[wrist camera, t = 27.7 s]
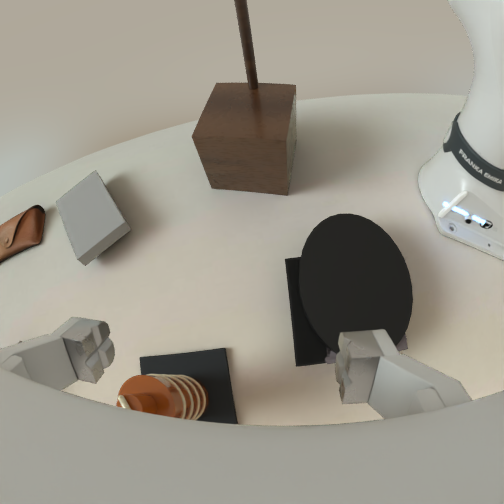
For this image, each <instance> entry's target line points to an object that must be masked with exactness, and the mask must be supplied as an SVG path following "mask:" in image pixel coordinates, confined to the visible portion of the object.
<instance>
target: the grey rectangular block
mask: <svg viewBox="0 0 504 504" xmlns="http://www.w3.org/2000/svg"><path fill="white" fill-rule="evenodd" d="M56 204H57V207H58V210H59V213H60V216H61V219H62V221H63V224H64V227H65V230H66V232H67V235H68V237H69V240H70V243H71V245H72V248H73V250H74V253H75V255H76V257H77V260H79V261H80V262H81V263H82V264H84V265H85V266H86V265H87V264H88V263H90V262H91V261H92V260H93V259H95V258H96V257H97V256H98V255H99V254H101V253H102V252H103V251H104V250H106V249H107V248H108V247H110V246H111V245H112V244H113V243H115V242H116V241H117V240H119V239H120V238H121V237H122V236H124V235H125V234H126V233H128V232H129V231H130V230H131V228H130V227H129V225H128V223H127V222H126V220H125V218H124V217H123V215H122V213H121V212H120V210H119V208H118V207H117V205H116V203H115V202H114V200H113V198H112V196H111V195H110V193H109V191H108V189H107V188H106V186H105V184H104V182H103V181H102V179H101V177H100V176H99V174H98V173H97V172H96V170H95V171H94V172H92V173H91V174H90V175H88V176H87V177H86V178H85V179H83V180H82V181H81V182H79V183H78V184H77V185H76V186H74V187H73V188H72V189H71V190H69V191H68V192H67V193H66V194H64V195H63V196H62V197H61V198H60V199H58V200H57V201H56Z"/></svg>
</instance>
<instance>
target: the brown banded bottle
mask: <svg viewBox="0 0 504 504" xmlns="http://www.w3.org/2000/svg"><path fill="white" fill-rule="evenodd" d="M116 406H117V407H121V408H126V409H130V410H135V411H140V412H145V413H150V414H155V415H161V416H167V417H174V418H180V419H188V420H197V419H198V418H199V417H200V416H202V415H203V414H204V412H205V411H206V409H207V406H208V394H207V391H206V389H205V387H204V386H203V384H202V383H201V382H199V381H198V380H197V379H195V378H193V377H189V376H186V375H167V374H147V375H137V376H134V377H131V378H129V379H128V380H127V381H126V382H125V383H124V384H123V385H122V387H121V388H120V391H119V394H118V399H117V403H116Z"/></svg>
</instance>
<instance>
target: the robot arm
mask: <svg viewBox="0 0 504 504" xmlns="http://www.w3.org/2000/svg"><path fill="white" fill-rule="evenodd" d="M448 2H449V5H450V6H451V8H452V10H453V11H454V13H455V14H456V16H457V17H458V18H459V20H460V21H461V23H462V25H463V27H464V28H465V30H466V32H467V35H468V38H469V40H470V43H471V47H472V51H473V57H474V76H473V81H472V84H471V88H470V91H469V94H468V97H467V99H466V102H465V104H464V107H463V109H462V111H461V112H459V113H458V114H457V115H456V117H455V119H454V121H452V123H451V125H450V127H449V129H448V131H447V133H446V135H445V138H444V142H443V145H442V146H441V148H440V149H439V150H438V152H437V153H436V154H435V155H434V156H433V157H432V158H431V159H430V160H429V161H428V162H426V163H425V164H424V165H423V166H422V167H421V169H420V172H419V176H418V183H419V189H420V192H421V195H422V197H423V199H424V201H425V203H426V204H427V206H428V207H429V209H430V210H431V212H432V213H433V215H434V218H435V221H436V225H437V228H438V230H439V232H440V233H441V234H442V235H444V236H447V237H449V238H452V239H454V240H457V241H459V242H462V243H464V244H467V245H469V246H471V247H474V248H476V249H478V250H481V251H483V252H485V253H488V254H490V255H492V256H494V257H497V258H499V259H501V260H504V0H448ZM450 229H452V231H451V230H450ZM109 334H110V330H109V326H108V324H107V323H106V322H105V321H98V320H92V319H86V318H80V317H71V318H70V319H69V320H68V321H66V322H65V323H64V324H63V325H61V326H60V327H59V328H58V329H57V330H55V331H54V332H53V333H52V334H50V335H49V334H47V335H43V336H40V337H37V338H34V339H31V340H28V341H24V342H21V343H18V344H15V345H12V346H8V347H5V348H2V349H0V504H504V390H503V391H501V392H498V393H495V394H492V395H489V396H486V397H482V398H479V399H476V400H472V399H471V398H470V396H469V395H468V393H467V392H466V390H465V389H464V387H463V386H462V384H461V383H460V382H459V381H458V380H456V379H453V378H451V377H449V376H447V375H445V374H443V373H441V372H439V371H437V370H435V369H433V368H431V367H429V366H427V365H425V364H423V363H421V362H419V361H417V360H415V359H413V358H411V357H409V356H407V355H405V354H402V355H400V353H399V352H398V350H397V348H396V347H395V345H394V343H393V342H392V340H391V338H390V337H389V335H388V334H387V332H386V330H384V329H378V330H367V331H353V332H341V333H340V336H339V341H338V345H339V348H340V352H339V353H338V354H337V355H336V363H335V373H336V379H337V382H338V383H340V388H339V392H340V397H341V401H342V404H353V403H368V404H369V405H370V406H371V407H372V408H373V409H374V410H376V411H377V412H378V413H379V414H380V415H381V416H382V417H383V418H385V419H382V420H374V421H365V422H356V423H344V424H331V425H310V426H260V425H239V424H225V423H214V422H204V421H196V420H188V419H180V418H174V417H167V416H161V415H155V414H150V413H145V412H140V411H135V410H130V409H126V408H121V407H117V406H113V405H109V404H105V403H101V402H97V401H93V400H90V399H86V398H83V397H79V396H76V395H73V394H70V393H67V392H63V391H61V390H62V389H64V388H66V387H68V386H69V385H71V384H73V383H75V382H76V381H78V380H82V381H86V382H91V383H95V384H96V383H97V382H98V380H99V379H100V378H101V376H102V375H103V374H104V370H103V369H105V368H107V367H109V366H110V365H111V363H112V362H113V359H114V356H115V350H114V345H113V342H112V341H111V340H110V339H109Z"/></svg>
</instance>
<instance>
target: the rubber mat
mask: <svg viewBox="0 0 504 504" xmlns="http://www.w3.org/2000/svg"><path fill="white" fill-rule="evenodd" d="M140 366H141V375H147V374H167V375H186V376H189V377H193V378H195V379H197V380H198V381H199V382H201V383H202V384H203V386H204V387H205V389H206V391H207V394H208V406H207V409H206V411H205V412H204V414H203V415H202V416H200V417H199V418H198V419H197V420H196V421H204V422H214V423H225V424H237V418H236V412H235V406H234V400H233V394H232V388H231V382H230V375H229V369H228V362H227V355H226V349H225V348H220V349H213V350H205V351H197V352H189V353H180V354H171V355H160V356H149V357H140Z"/></svg>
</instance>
